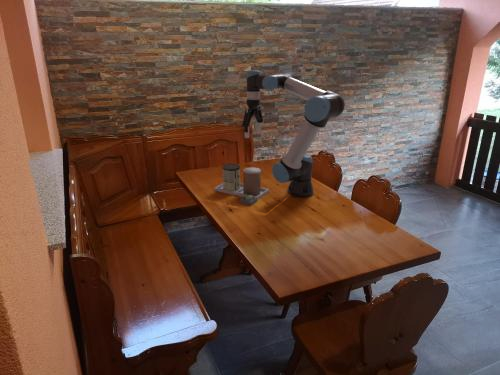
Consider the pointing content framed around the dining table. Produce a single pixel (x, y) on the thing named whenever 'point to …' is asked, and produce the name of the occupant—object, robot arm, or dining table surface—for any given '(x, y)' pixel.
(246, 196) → the button
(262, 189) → the pallet board
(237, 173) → the coffee can
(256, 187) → the seated tin
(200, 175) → the dining table surface
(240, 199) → the button box
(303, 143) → the robot arm
